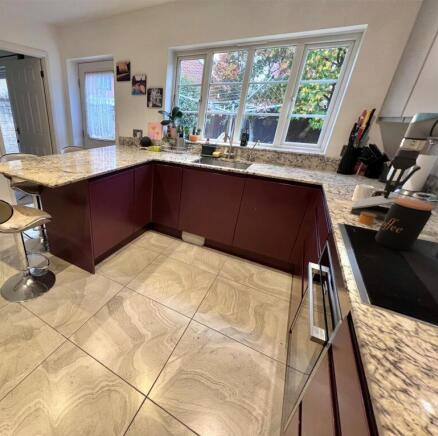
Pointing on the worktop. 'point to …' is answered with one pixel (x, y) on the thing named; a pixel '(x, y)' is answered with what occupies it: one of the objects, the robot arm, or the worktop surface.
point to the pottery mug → (378, 193)
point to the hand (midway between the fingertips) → (385, 197)
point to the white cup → (362, 192)
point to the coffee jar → (403, 223)
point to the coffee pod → (366, 218)
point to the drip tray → (372, 211)
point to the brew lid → (375, 201)
